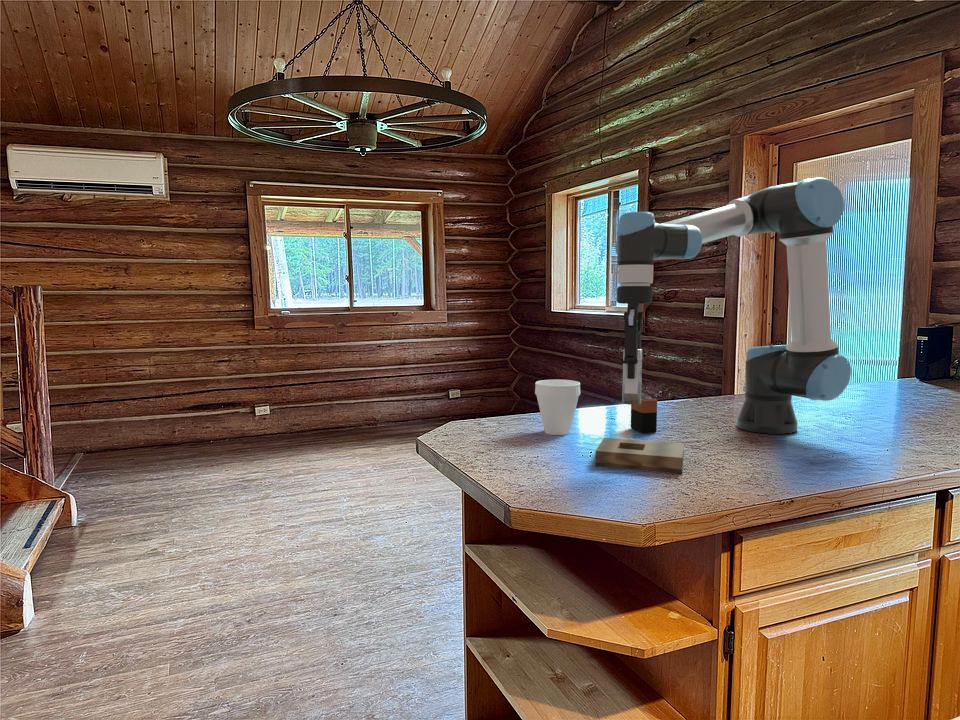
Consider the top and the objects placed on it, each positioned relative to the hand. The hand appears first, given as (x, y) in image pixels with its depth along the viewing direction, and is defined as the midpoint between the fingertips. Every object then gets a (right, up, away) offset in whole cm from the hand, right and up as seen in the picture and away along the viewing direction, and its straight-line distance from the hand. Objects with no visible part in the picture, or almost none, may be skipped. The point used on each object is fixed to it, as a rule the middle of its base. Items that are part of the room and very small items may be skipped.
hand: (632, 391), depth 135 cm
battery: (+11, -13, +32) cm, 36 cm away
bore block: (+2, -16, +1) cm, 16 cm away
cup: (-13, -13, +31) cm, 36 cm away
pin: (0, -3, 0) cm, 3 cm away
